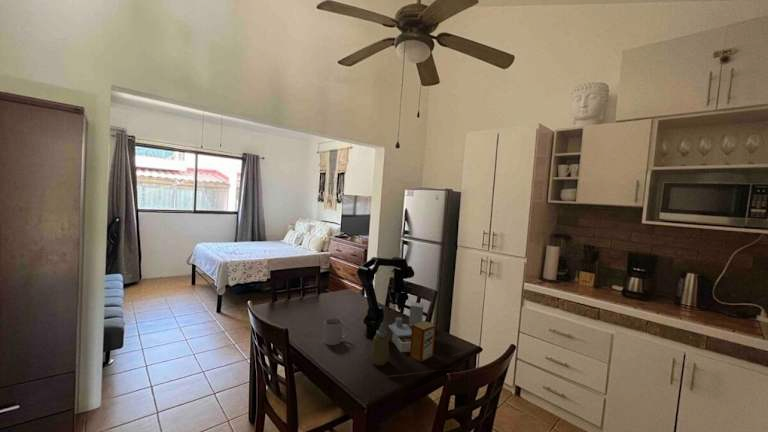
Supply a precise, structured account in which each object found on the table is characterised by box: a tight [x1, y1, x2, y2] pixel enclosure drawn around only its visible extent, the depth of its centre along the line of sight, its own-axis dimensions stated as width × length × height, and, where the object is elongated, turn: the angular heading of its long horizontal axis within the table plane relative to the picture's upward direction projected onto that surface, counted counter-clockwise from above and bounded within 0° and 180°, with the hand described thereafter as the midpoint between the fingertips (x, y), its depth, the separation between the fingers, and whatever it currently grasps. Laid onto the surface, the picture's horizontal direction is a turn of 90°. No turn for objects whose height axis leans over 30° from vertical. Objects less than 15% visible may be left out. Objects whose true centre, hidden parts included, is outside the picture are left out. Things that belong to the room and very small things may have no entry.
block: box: [401, 336, 411, 342], centre depth 157 cm, size 4×4×3 cm
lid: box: [387, 316, 412, 337], centre depth 161 cm, size 10×14×5 cm
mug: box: [323, 318, 349, 346], centre depth 154 cm, size 11×10×10 cm
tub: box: [392, 332, 411, 353], centre depth 155 cm, size 10×12×5 cm
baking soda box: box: [409, 320, 437, 363], centre depth 145 cm, size 10×6×16 cm
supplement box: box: [408, 301, 424, 328], centre depth 182 cm, size 7×7×13 cm
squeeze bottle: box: [370, 322, 390, 367], centre depth 137 cm, size 8×8×18 cm
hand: (396, 307), depth 175 cm, fingers open, 9 cm apart
